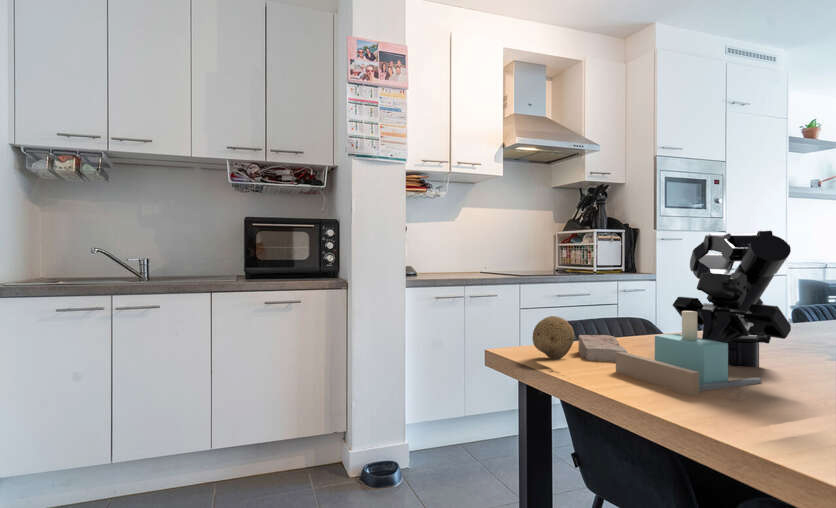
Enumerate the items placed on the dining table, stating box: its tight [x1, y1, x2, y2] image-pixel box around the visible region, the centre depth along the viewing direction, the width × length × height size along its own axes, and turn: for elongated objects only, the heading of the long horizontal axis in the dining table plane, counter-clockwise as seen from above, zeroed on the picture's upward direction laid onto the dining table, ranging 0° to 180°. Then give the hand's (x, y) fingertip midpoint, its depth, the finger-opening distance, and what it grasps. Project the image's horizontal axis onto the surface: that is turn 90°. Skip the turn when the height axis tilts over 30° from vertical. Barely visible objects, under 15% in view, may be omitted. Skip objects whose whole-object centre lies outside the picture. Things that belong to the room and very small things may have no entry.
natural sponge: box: [532, 315, 575, 361], centre depth 101 cm, size 9×9×10 cm
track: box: [615, 352, 763, 398], centre depth 81 cm, size 19×16×5 cm
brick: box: [578, 334, 628, 363], centre depth 102 cm, size 17×8×5 cm, turn 166°
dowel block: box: [654, 311, 729, 384], centre depth 81 cm, size 6×10×12 cm, turn 19°
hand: (704, 349), depth 81 cm, fingers closed
